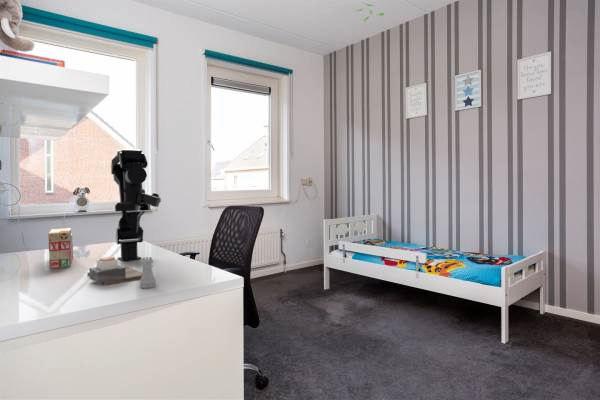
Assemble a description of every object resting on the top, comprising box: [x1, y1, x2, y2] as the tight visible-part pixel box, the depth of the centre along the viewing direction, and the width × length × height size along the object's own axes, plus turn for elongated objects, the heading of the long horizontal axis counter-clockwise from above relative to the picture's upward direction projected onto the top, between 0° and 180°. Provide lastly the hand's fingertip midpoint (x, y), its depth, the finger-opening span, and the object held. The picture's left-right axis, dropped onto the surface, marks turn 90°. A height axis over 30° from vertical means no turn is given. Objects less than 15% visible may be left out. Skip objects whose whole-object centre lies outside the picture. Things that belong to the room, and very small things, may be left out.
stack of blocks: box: [47, 227, 74, 270], centre depth 139 cm, size 21×6×12 cm, turn 29°
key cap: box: [95, 256, 119, 271], centre depth 111 cm, size 4×4×4 cm
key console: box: [86, 264, 143, 287], centre depth 116 cm, size 16×14×4 cm
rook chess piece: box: [138, 256, 157, 289], centre depth 106 cm, size 4×4×8 cm
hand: (135, 232), depth 129 cm, fingers closed
